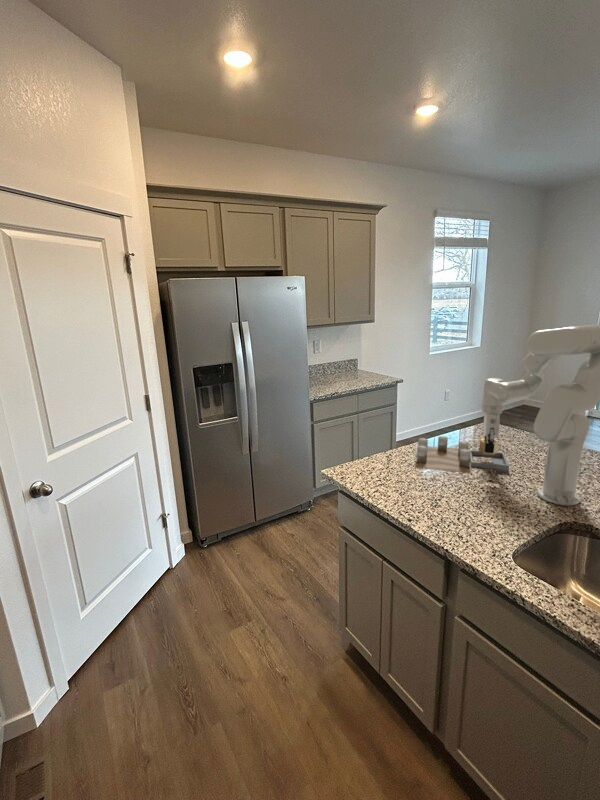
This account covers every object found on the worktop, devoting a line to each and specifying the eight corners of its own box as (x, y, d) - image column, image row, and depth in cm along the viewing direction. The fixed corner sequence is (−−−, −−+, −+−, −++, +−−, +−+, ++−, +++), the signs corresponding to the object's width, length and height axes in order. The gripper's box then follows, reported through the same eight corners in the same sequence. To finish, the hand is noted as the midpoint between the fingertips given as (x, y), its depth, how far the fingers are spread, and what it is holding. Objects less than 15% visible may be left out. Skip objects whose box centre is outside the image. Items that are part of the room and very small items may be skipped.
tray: (508, 472, 156) (509, 465, 155) (470, 468, 161) (471, 462, 160) (503, 459, 169) (503, 452, 168) (468, 456, 173) (468, 449, 173)
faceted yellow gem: (496, 449, 165) (497, 438, 164) (498, 455, 160) (499, 443, 158) (478, 448, 167) (479, 437, 166) (479, 453, 162) (480, 442, 161)
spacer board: (470, 475, 154) (472, 459, 153) (415, 470, 161) (416, 454, 159) (466, 451, 178) (467, 437, 176) (418, 447, 185) (419, 433, 183)
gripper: (505, 415, 150) (501, 458, 154) (499, 403, 165) (495, 443, 170) (484, 413, 152) (480, 456, 157) (480, 402, 168) (476, 441, 172)
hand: (488, 449), depth 163 cm, fingers closed on faceted yellow gem, 6 cm apart
